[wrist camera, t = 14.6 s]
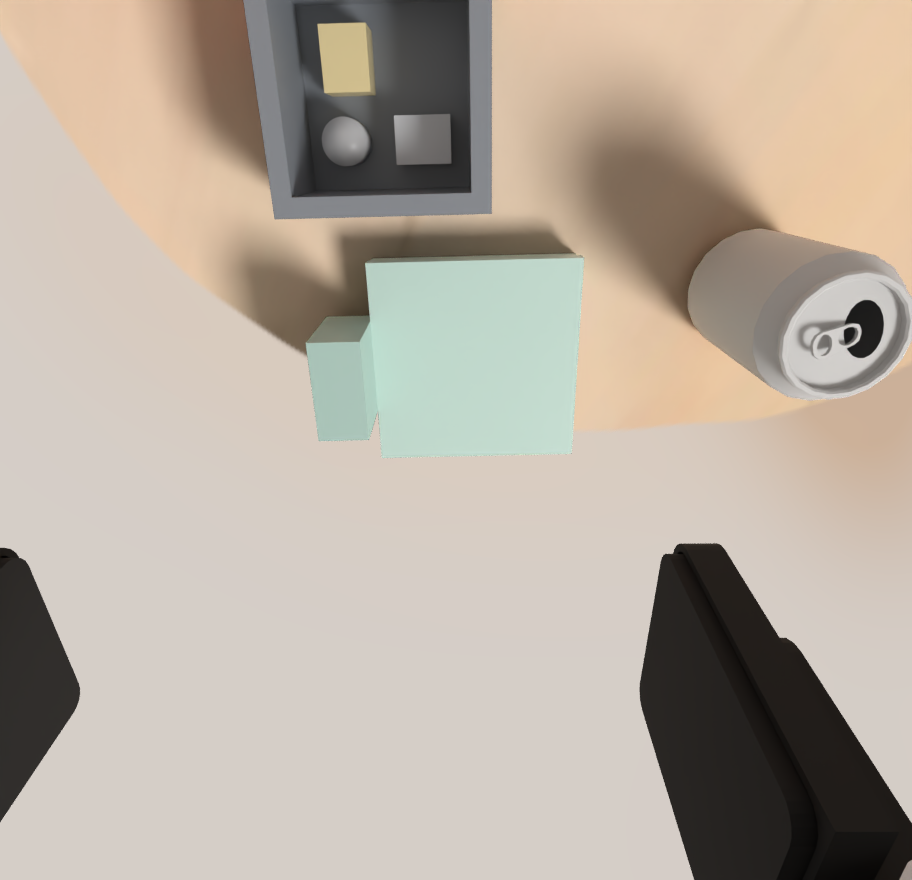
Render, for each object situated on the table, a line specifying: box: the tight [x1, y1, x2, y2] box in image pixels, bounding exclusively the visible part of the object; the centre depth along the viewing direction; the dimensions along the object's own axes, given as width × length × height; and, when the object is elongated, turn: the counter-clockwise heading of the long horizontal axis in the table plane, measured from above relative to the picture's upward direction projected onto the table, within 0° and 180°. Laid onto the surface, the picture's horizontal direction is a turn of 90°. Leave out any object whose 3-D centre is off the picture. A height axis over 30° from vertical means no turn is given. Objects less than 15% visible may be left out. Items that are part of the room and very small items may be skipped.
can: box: [688, 228, 912, 401], centre depth 34 cm, size 8×8×12 cm
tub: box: [243, 0, 492, 219], centre depth 32 cm, size 11×11×7 cm
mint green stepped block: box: [306, 253, 584, 458], centre depth 38 cm, size 13×16×7 cm
